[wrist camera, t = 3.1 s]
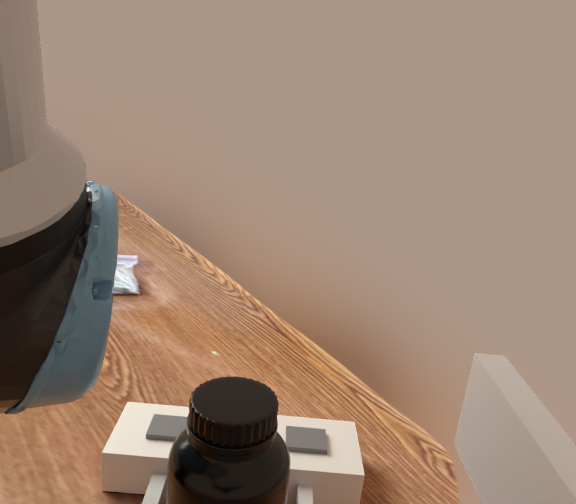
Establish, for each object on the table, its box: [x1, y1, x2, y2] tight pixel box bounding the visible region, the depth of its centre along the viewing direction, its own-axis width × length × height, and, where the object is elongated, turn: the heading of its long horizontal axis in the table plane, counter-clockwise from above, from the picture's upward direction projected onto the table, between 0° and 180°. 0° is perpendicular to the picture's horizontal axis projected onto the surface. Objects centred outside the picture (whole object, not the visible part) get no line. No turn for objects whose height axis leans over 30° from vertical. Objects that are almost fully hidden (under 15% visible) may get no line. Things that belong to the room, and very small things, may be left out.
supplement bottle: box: [166, 377, 290, 504], centre depth 30 cm, size 7×7×12 cm
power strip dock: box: [102, 402, 365, 504], centre depth 35 cm, size 18×16×4 cm
